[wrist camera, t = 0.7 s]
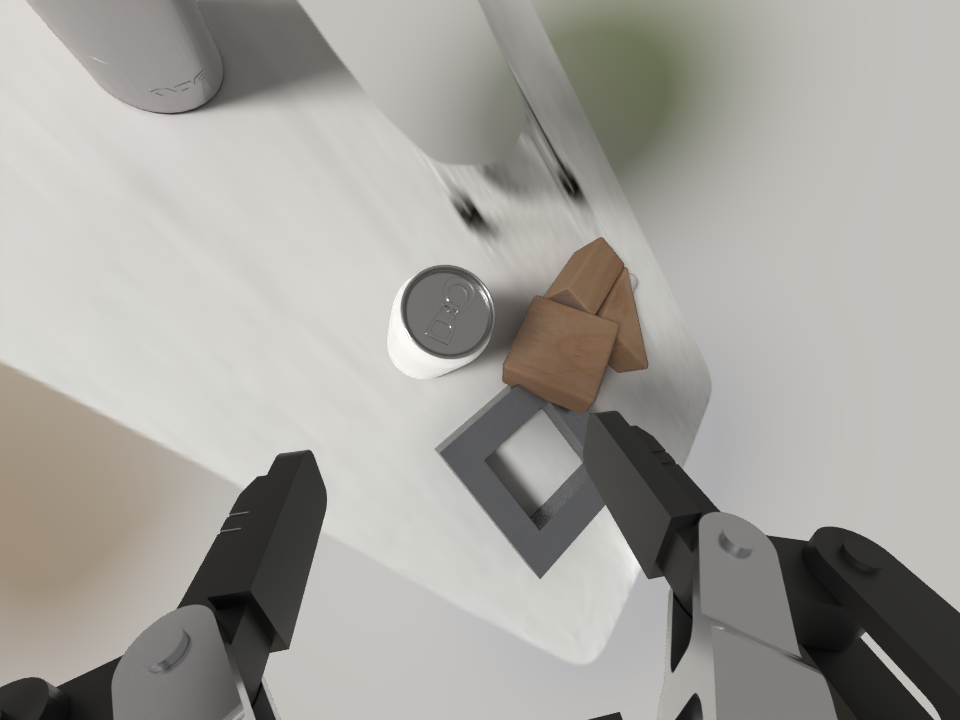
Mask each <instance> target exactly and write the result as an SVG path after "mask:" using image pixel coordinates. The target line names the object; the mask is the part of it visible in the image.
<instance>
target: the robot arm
mask: <svg viewBox="0 0 960 720" xmlns="http://www.w3.org/2000/svg"><path fill="white" fill-rule="evenodd" d="M26 1H27V3H28V4H29V5H30V6H31V7H32V8H33V9H34V11H35V12H36V13H37V14H38V15H39V16H40V17H41V18H42V20H43V21H44V22H45V23H46V24H47V26H48V27H49V28H50V29H51V30H52V31H53V32H54V34H55V35H56V36H57V37H58V38H59V39H60V40H61V42H62V43H63V44H64V45H65V46H66V47H67V48H68V50H69V51H70V52H71V53H72V54H73V55H74V56H75V58H76V59H77V60H78V61H79V62H80V63H81V64H82V66H83V67H84V68H85V69H86V70H87V71H88V72H89V74H90V75H91V76H92V77H93V78H94V79H95V80H96V82H97V83H98V84H99V85H100V86H101V87H103V88H104V89H105V90H106V91H107V92H108V93H110V94H111V95H112V96H114V97H116V98H117V99H119V100H121V101H122V102H124V103H127V104H129V105H132V106H134V107H137V108H140V109H144V110H148V111H152V112H163V113H173V112H183V111H187V110H190V109H194V108H196V107H198V106H200V105H202V104H204V103H206V102H207V101H208V100H210V99H211V98H212V97H213V96H214V95H215V94H216V92H217V91H218V89H219V88H220V85H221V82H222V79H223V63H222V59H221V56H220V53H219V51H218V49H217V47H216V45H215V42H214V40H213V38H212V36H211V33H210V31H209V29H208V27H207V25H206V22H205V20H204V18H203V16H202V14H201V11H200V9H199V7H198V4H197V2H196V0H26ZM583 460H584V464H585V468H586V470H587V472H588V474H589V476H590V478H591V479H592V481H593V483H594V485H595V486H596V488H597V490H598V492H599V493H600V495H601V497H602V499H603V501H604V502H605V504H606V506H607V508H608V509H609V511H610V513H611V515H612V516H613V518H614V520H615V522H616V523H617V525H618V527H619V529H620V530H621V532H622V534H623V536H624V538H625V539H626V541H627V543H628V545H629V546H630V548H631V550H632V552H633V553H634V555H635V557H636V559H637V560H638V562H639V564H640V566H641V568H642V569H643V571H644V573H645V574H646V576H647V578H648V579H652V578H657V577H662V576H665V578H666V580H667V581H668V583H669V585H670V586H671V587H670V590H669V595H668V615H667V636H666V657H665V675H664V682H663V688H662V692H661V696H660V701H659V707H658V713H657V720H837V719H838V720H934V719H933V718H932V717H931V716H930V715H929V714H928V712H927V711H926V710H925V709H924V708H923V707H922V706H921V705H920V704H919V702H918V701H917V700H916V699H915V698H914V697H913V696H912V695H911V693H910V692H909V691H908V690H907V689H906V688H905V687H904V686H903V685H902V683H901V682H900V681H899V680H898V679H897V678H896V677H895V676H894V674H893V673H892V672H891V671H890V670H889V669H888V668H887V667H886V666H885V664H884V663H883V662H882V661H881V660H880V659H879V658H878V657H877V656H876V654H875V653H874V652H873V651H872V650H871V649H870V648H869V647H868V645H867V644H866V643H865V642H864V641H863V640H862V639H861V638H860V637H861V636H862V635H863V634H864V633H865V632H867V633H868V634H869V635H870V636H871V638H872V639H873V640H874V641H875V642H876V643H877V644H878V645H879V646H880V647H881V648H882V650H883V651H884V652H885V653H886V654H887V655H888V656H889V657H890V658H891V659H892V660H893V662H894V663H895V664H896V665H897V666H898V667H899V668H900V669H901V670H902V671H903V672H904V673H905V675H907V677H908V678H909V679H910V680H911V681H912V682H913V683H914V684H915V685H916V686H917V688H918V689H919V690H920V691H921V692H922V693H923V694H924V695H925V696H926V697H927V699H928V700H929V701H930V702H931V704H932V705H933V706H934V707H935V709H936V711H937V712H938V714H939V716H940V718H941V720H960V613H959V612H958V611H957V610H956V609H954V608H953V607H952V606H951V605H950V604H949V603H947V602H946V601H945V600H944V599H943V598H942V597H940V596H939V595H938V594H936V592H935V591H933V590H932V589H931V588H930V587H929V586H928V585H926V584H925V583H924V582H923V581H922V580H920V579H919V578H918V577H917V576H916V575H915V574H913V573H912V572H911V571H910V570H909V569H908V568H906V567H905V566H904V565H903V564H902V563H901V562H899V561H898V560H897V559H896V558H895V557H894V556H892V555H891V554H890V553H889V552H887V551H886V550H885V549H884V548H882V547H881V546H879V545H878V544H876V543H874V542H873V541H871V540H869V539H868V538H866V537H864V536H862V535H859V534H857V533H855V532H852V531H849V530H846V529H843V528H838V527H822V528H820V529H818V530H817V531H816V532H815V533H814V535H813V536H812V537H811V539H810V540H809V541H803V540H796V539H789V538H781V537H774V536H768V535H765V534H764V533H762V532H761V531H760V530H759V529H758V528H757V527H755V526H754V525H753V524H751V523H750V522H748V521H746V520H744V519H742V518H740V517H738V516H735V515H732V514H728V513H723V512H720V511H719V510H718V509H717V508H716V506H714V504H713V503H712V502H711V501H710V500H709V498H708V497H707V496H706V495H705V494H704V493H703V492H702V491H701V489H700V488H699V487H698V486H697V485H696V484H695V483H694V482H693V481H692V479H691V478H690V477H689V476H688V475H687V474H686V473H685V472H684V470H683V469H682V468H681V467H680V466H679V465H678V464H676V463H675V460H674V459H673V458H672V457H671V456H670V455H669V454H668V453H666V452H665V449H664V448H663V447H662V446H661V445H660V443H659V442H658V441H657V440H656V439H655V438H654V437H653V436H652V435H650V434H649V433H647V432H646V431H644V430H643V429H641V428H639V427H638V426H630V425H629V424H628V423H627V422H626V420H625V419H624V418H623V417H622V416H621V414H620V413H619V412H617V411H609V412H602V413H594V414H590V416H589V418H588V423H587V429H586V435H585V441H584V448H583ZM326 506H327V493H326V488H325V485H324V482H323V480H322V477H321V474H320V471H319V469H318V466H317V463H316V460H315V458H314V455H313V453H312V452H311V451H310V450H304V451H297V452H289V453H281V454H279V455H277V457H276V458H275V460H274V462H273V464H272V466H271V468H270V470H269V472H268V474H267V475H266V476H259V477H257V478H256V479H255V480H254V481H253V482H252V483H251V484H250V485H249V486H248V487H247V488H246V489H245V490H244V491H243V492H242V493H241V494H240V495H239V497H238V499H237V501H236V502H235V504H234V506H233V508H232V510H231V511H230V513H229V514H230V516H229V517H228V518H227V519H226V520H225V522H224V524H223V526H222V528H221V530H220V531H221V532H220V534H218V535H217V537H216V539H215V541H214V542H213V544H212V546H211V548H210V550H209V552H208V553H207V556H206V557H205V559H204V561H203V563H202V565H201V566H200V568H199V570H198V572H197V573H196V575H195V577H194V579H193V581H192V583H191V584H190V586H189V588H188V590H187V592H186V594H185V595H184V597H183V599H182V601H181V602H180V604H179V606H178V607H177V609H176V610H174V611H172V612H170V613H168V614H167V615H165V616H163V617H161V618H160V619H158V620H157V621H156V622H154V623H153V624H152V625H150V626H149V627H148V628H147V629H146V630H145V631H143V632H142V633H141V634H140V636H138V637H137V638H136V640H135V641H134V642H133V643H132V644H131V646H130V647H129V648H128V649H127V651H126V652H125V654H124V655H122V656H121V657H119V658H117V659H114V660H113V661H110V662H108V663H106V664H104V665H102V666H100V667H98V668H96V669H94V670H91V671H89V672H87V673H85V674H83V675H81V676H79V677H77V678H74V679H72V680H70V681H68V682H66V683H64V684H62V685H60V686H58V687H54V686H53V685H51V684H50V683H48V682H46V681H45V680H43V679H41V678H35V677H30V678H24V679H20V680H17V681H14V682H11V683H9V684H7V685H5V686H2V687H1V688H0V720H281V719H280V716H279V714H278V711H277V708H276V706H275V703H274V701H273V698H272V696H271V693H270V690H269V688H268V685H267V682H266V680H265V678H264V676H263V673H264V670H265V666H266V663H267V659H268V656H269V653H272V652H277V651H282V650H287V649H289V647H290V642H291V639H292V636H293V632H294V628H295V624H296V620H297V617H298V613H299V609H300V605H301V602H302V598H303V594H304V591H305V587H306V583H307V579H308V576H309V572H310V568H311V564H312V561H313V557H314V553H315V549H316V546H317V542H318V538H319V534H320V531H321V527H322V523H323V520H324V516H325V512H326ZM590 720H622V717H621V714H620V712H617V713H613V714H610V715H605V716H602V717H597V718H594V719H590Z"/></svg>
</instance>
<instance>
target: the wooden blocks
mask: <svg viewBox="0 0 960 720" xmlns="http://www.w3.org/2000/svg"><path fill="white" fill-rule="evenodd" d="M637 284H638V282H637V278H636V277H635V276H634V275H633V274H631V273H628V269H627V268H626V267H624V263H623V262H622V261H621V259H620V258H619V257H618V256H617V254H616V253H615V252H614V251H613V249H612V248H611V247H610V246H609V244H608V243H607V242H606V241H605V240H604V238H602V237H601V238H598V239H596V240H594V241H593V242H591V243H589V244H588V245H586V246H584V247H583V248H581V249H579V250H578V251H576V252H575V253H574V254H573V255H572V257H571V258H570V260H569V261H568V263H567V264H566V265H565V267H564V268H563V270H562V271H561V273H560V274H559V275H558V277H557V278H556V280H555V281H554V283H553V284H552V286H551V287H550V288H549V290H548V291H547V293H546V294H545V296H544V297H541V296H536V297H535V298H533V300H532V303H531V305H530V307H529V309H528V311H527V313H526V316H525V318H524V320H523V322H522V324H521V326H520V329H519V331H518V333H517V335H516V337H515V340H514V342H513V344H512V346H511V348H510V350H509V353H508V355H507V357H506V359H505V361H504V363H503V375H502V381H503V382H504V383H506V384H508V385H510V386H513V385H516V384H520V385H521V386H523V387H525V388H527V389H528V390H530V391H532V392H533V393H535V394H537V395H538V396H540V397H542V398H544V399H545V400H547V401H550V402H552V403H555V404H557V405H560V406H562V407H565V408H567V409H570V410H572V411H575V412H577V413H579V414H584V413H585V412H586V411H587V409H588V408H589V407H590V406H591V405H592V404H593V403H594V402H595V400H596V397H597V394H598V391H599V388H600V385H601V382H602V379H603V376H604V373H605V370H606V367H607V364H609V365H610V366H611V367H612V368H613V369H614V370H615V371H616V372H618V373H621V372H628V371H635V370H642V369H647V368H648V361H647V356H646V352H645V347H644V343H643V338H642V333H641V329H640V324H639V319H638V315H637V310H636V305H635V301H634V296H633V292H634V290H635V288H636V286H637Z"/></svg>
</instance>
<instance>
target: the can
mask: <svg viewBox="0 0 960 720" xmlns="http://www.w3.org/2000/svg"><path fill="white" fill-rule="evenodd" d="M494 324H495V306H494V302H493V299H492V296H491V294H490V292H489V290H488V289H487V287H486V286H485V284H484V283H483V282H482V281H481V280H480V279H479V278H478V277H477V276H475V275H474V274H473V273H471V272H469V271H467V270H465V269H463V268H460V267H457V266H452V265H438V266H433V267H430V268H427V269H425V270H423V271H421V272H420V273H418V274H416V275H414V276H413V277H411V278H410V279H409V280H408V281H406V282H405V284H404V285H403V286H402V287H401V289H400V290H399V292H398V294H397V295H396V298H395V300H394V303H393V307H392V312H391V317H390V324H389V330H388V338H387V347H388V352H389V355H390V358H391V360H392V361H393V363H394V364H395V366H396V367H397V368H398V369H399V370H400V371H402V372H403V373H404V374H406V375H408V376H410V377H413V378H417V379H431V378H435V377H438V376H441V375H444V374H446V373H448V372H451V371H453V370H455V369H458V368H460V367H462V366H464V365H466V364H468V363H470V362H471V361H473V360H474V359H475V358H477V357H478V356H479V355H480V354H481V353H482V351H483V350H484V349H485V347H486V346H487V344H488V342H489V340H490V338H491V334H492V331H493V328H494Z"/></svg>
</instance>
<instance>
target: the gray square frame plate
mask: <svg viewBox="0 0 960 720" xmlns="http://www.w3.org/2000/svg"><path fill="white" fill-rule="evenodd" d="M541 407H542V409H543V410H544V411H545V413H546V414H547V415H548V416H549V418H550V419H551V420H552V422H553V423H554V424H555V426H556V427H557V428H558V430H559V431H560V432H561V434H562V435H563V436H564V438H565V439H566V440H567V442H568V443H569V444H570V446H571V447H572V448H573V450H574V451H575V452H576V454H577V455H578V456H579V458H580V459H581V460H582V462H583V464H582V465H581V466H580V467H579V468H578V469H577V470H576V471H575V472H574V473H573V474H572V475H571V476H570V477H569V478H568V479H567V481H566V482H565V483H564V484H563V485H562V486H561V487H560V488H559V489H558V490H557V491H556V492H555V493H554V494H553V495H552V496H551V497H550V498H549V499H548V501H547V502H546V503H545V504H544V505H543V506H542V507H541V508H540V509H539V510H538V511H537V512H536V513H535V514H534V515H533V516H532V517H531V518H529V517H528V516H527V514H526V513H525V512H524V510H523V509H522V508H521V507H520V505H519V504H518V503H517V502H516V500H515V499H514V498H513V496H512V495H511V494H510V493H509V491H508V490H507V489H506V488H505V486H504V485H503V484H502V482H501V481H500V480H499V479H498V477H497V476H496V475H495V474H494V472H493V471H492V470H491V468H490V467H489V466H488V465H487V463H486V462H485V461H484V460H485V459H486V458H487V457H488V456H489V455H490V454H491V453H492V452H493V451H495V450H496V449H497V448H498V447H499V446H500V445H501V444H502V443H503V442H504V441H505V440H506V439H507V438H509V437H510V436H511V435H512V434H513V433H514V432H515V431H516V430H517V429H518V428H519V427H520V426H522V425H523V424H524V423H525V422H526V421H527V420H528V419H529V418H530V417H531V416H532V415H533V414H534V413H536V412H537V411H538V410H539V409H540V408H541ZM589 416H590V414H589V413H588V412H587V411H586V412H585V413H584V414H579V413H577V412H575V411H572V410H570V409H567V408H565V407H562V406H560V405H557V404H555V403H552V402H550V401H547V400H545V399H544V398H542V397H540V396H538V395H537V394H535V393H533V392H532V391H530V390H528V389H527V388H525V387H523V386H521V385H520V384H516V385H513V386H510V385H508V386H507V387H506V388H505V389H504V390H502V391H501V392H500V393H499V394H498V395H497V396H495V397H494V398H493V399H492V400H491V401H490V402H488V403H487V404H486V405H485V406H484V407H483V408H482V409H480V410H479V411H478V412H477V413H476V414H475V415H473V416H472V417H471V418H470V419H469V420H468V421H466V422H465V423H464V424H463V425H462V426H461V427H459V428H458V429H457V430H456V431H455V432H454V433H453V434H451V435H450V436H449V437H448V438H447V439H446V440H444V441H443V442H442V443H441V444H440V445H439V446H437V447H436V448H435V450H436V452H437V453H438V454H439V455H440V457H441V458H442V459H443V460H444V462H445V463H446V464H447V465H448V467H449V468H450V469H451V470H452V472H453V473H454V474H455V475H456V477H457V478H458V479H459V480H460V482H461V483H462V484H463V485H464V487H465V488H466V489H467V490H468V492H469V493H470V494H471V495H472V497H473V498H474V499H475V500H476V502H477V503H478V504H479V505H480V507H481V508H482V509H483V510H484V512H485V513H486V514H487V515H488V517H489V518H490V519H491V520H492V522H493V523H494V524H495V525H496V527H497V528H498V529H499V530H500V532H501V533H502V534H503V535H504V537H505V538H506V539H507V540H508V542H509V543H510V544H511V545H512V547H513V548H514V549H515V550H516V552H517V553H518V554H519V555H520V557H521V558H522V559H523V560H524V562H525V563H526V564H527V565H528V567H529V568H530V569H531V570H532V571H533V572H534V573H535V574H536V575H537V576H538V578H539V579H541V578H542V577H543V575H544V574H545V573H546V572H547V571H548V570H549V569H550V567H551V566H552V565H553V564H554V563H555V562H556V561H557V559H558V558H559V557H560V556H561V555H562V554H563V553H564V551H565V550H566V549H567V548H568V547H569V546H570V545H571V543H572V542H573V541H574V540H575V539H576V538H577V537H578V535H579V534H580V533H581V532H582V531H583V530H584V529H585V527H586V526H587V525H588V524H589V523H590V522H591V521H592V519H593V518H594V517H595V516H596V515H597V514H598V513H599V511H600V510H601V509H602V508H603V507H604V506H605V505H606V504H605V502H604V501H603V499H602V497H601V495H600V493H599V492H598V490H597V488H596V486H595V485H594V483H593V481H592V479H591V478H590V476H589V474H588V472H587V470H586V468H585V464H584V460H583V448H584V441H585V435H586V429H587V423H588V418H589Z"/></svg>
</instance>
